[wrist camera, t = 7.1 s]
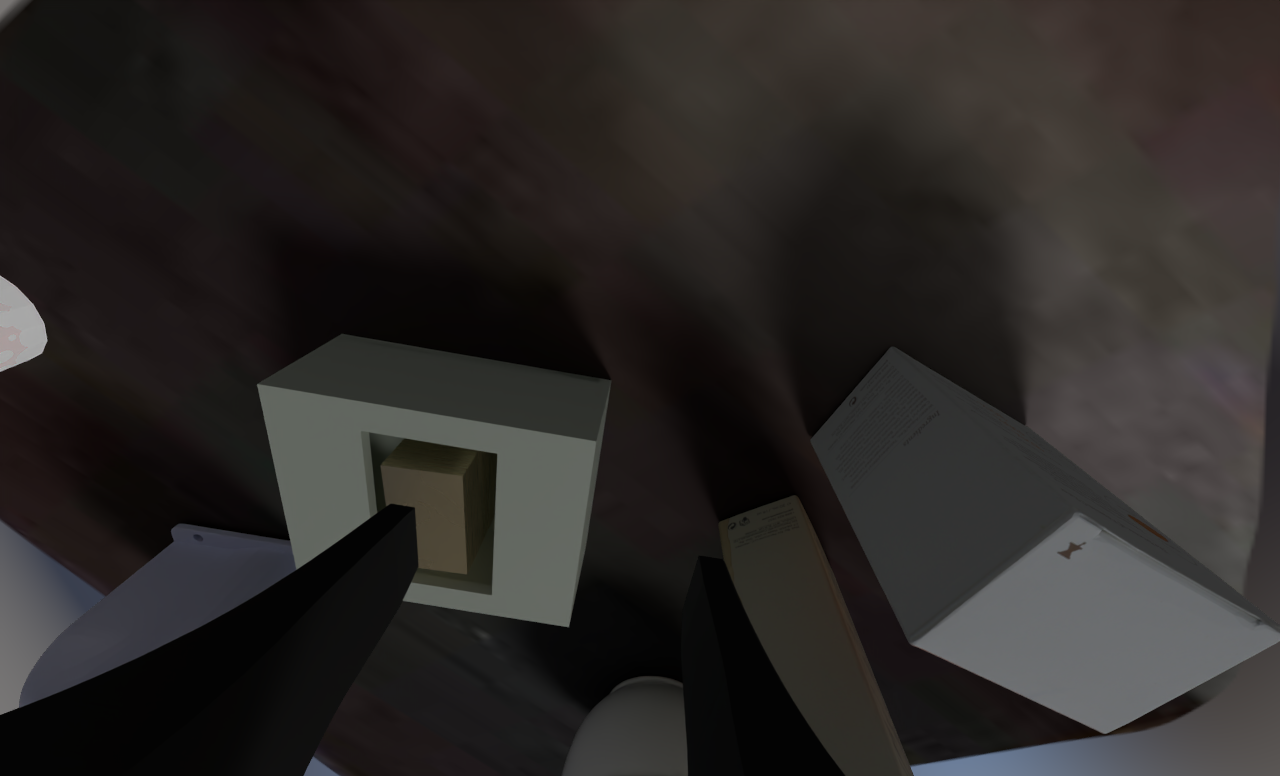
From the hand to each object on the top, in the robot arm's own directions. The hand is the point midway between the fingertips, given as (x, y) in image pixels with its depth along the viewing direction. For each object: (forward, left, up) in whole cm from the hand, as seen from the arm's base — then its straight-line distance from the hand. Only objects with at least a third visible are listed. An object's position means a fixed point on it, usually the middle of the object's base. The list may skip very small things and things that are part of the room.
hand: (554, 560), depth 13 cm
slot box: (-6, -5, -11) cm, 13 cm away
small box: (+14, 0, -11) cm, 18 cm away
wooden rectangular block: (-6, -5, -10) cm, 13 cm away
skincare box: (+10, -8, -11) cm, 17 cm away
